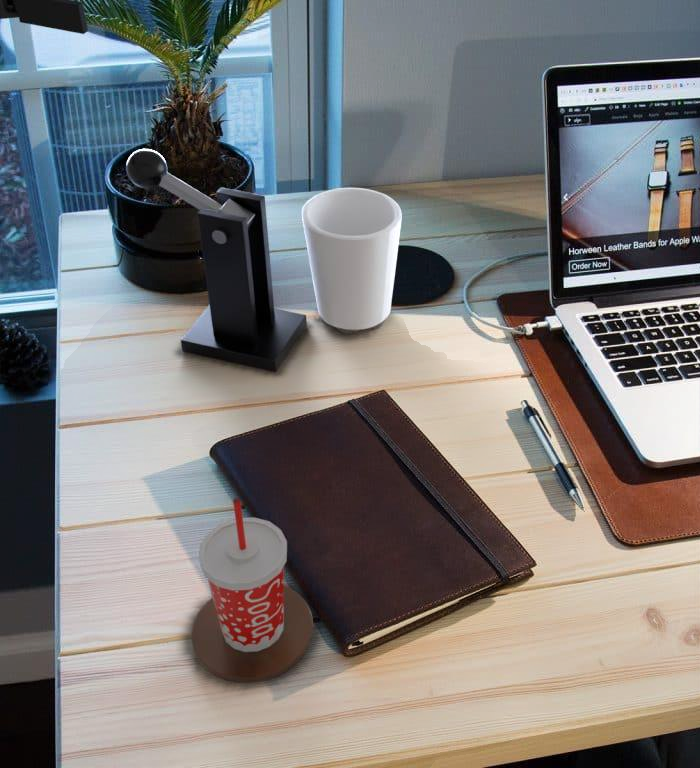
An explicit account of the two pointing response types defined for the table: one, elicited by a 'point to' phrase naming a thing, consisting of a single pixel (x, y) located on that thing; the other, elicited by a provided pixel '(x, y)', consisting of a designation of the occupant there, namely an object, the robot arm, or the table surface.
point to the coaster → (260, 663)
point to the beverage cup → (246, 579)
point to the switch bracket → (240, 291)
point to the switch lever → (175, 183)
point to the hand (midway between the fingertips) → (40, 45)
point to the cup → (352, 255)
